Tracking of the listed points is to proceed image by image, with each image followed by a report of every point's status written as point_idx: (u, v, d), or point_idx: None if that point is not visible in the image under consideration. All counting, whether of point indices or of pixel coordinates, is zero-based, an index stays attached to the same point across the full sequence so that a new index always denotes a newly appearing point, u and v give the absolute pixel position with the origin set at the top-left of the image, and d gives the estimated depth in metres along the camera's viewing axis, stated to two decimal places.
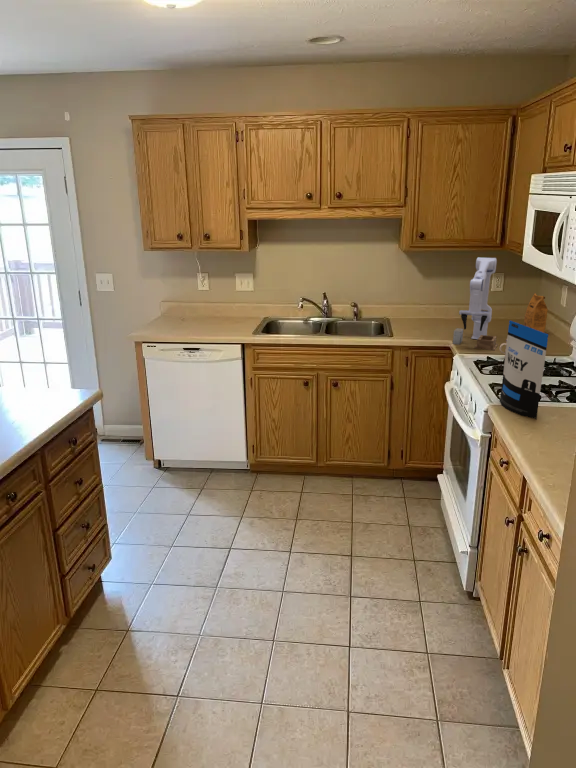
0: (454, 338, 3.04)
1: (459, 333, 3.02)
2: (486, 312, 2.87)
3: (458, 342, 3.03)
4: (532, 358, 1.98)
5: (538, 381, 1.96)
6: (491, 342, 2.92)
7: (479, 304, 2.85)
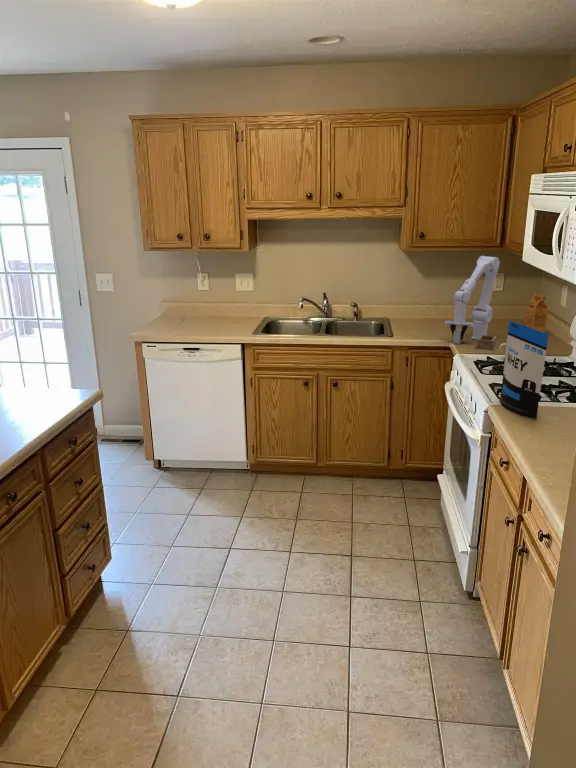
0: (454, 338, 3.04)
1: (459, 333, 3.02)
2: None
3: (458, 342, 3.03)
4: (532, 358, 1.98)
5: (538, 381, 1.96)
6: (491, 342, 2.92)
7: (463, 315, 3.01)
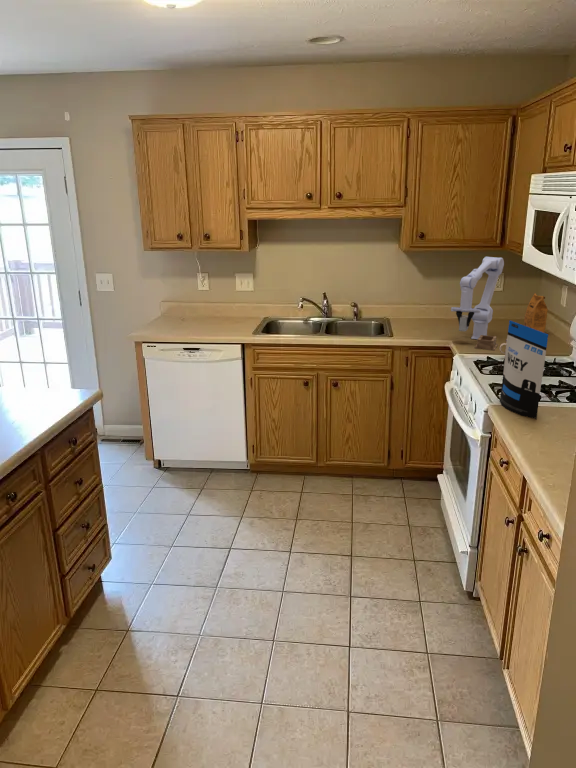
0: (460, 325, 3.00)
1: (465, 320, 2.98)
2: (476, 309, 2.99)
3: (464, 329, 3.00)
4: (532, 358, 1.98)
5: (538, 381, 1.96)
6: (491, 342, 2.92)
7: (470, 301, 2.97)
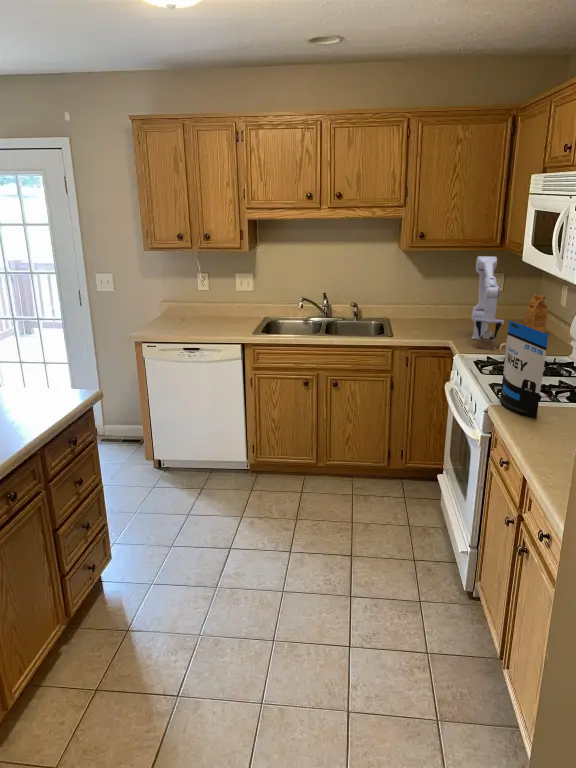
0: None
1: (488, 336, 2.93)
2: None
3: None
4: (532, 358, 1.98)
5: (538, 381, 1.96)
6: (491, 342, 2.92)
7: (494, 312, 2.91)
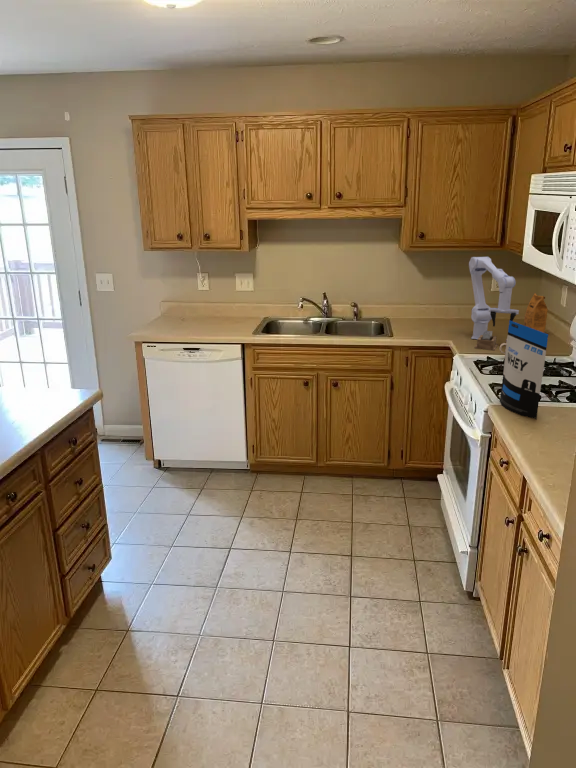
0: None
1: (488, 336, 2.93)
2: None
3: None
4: (532, 358, 1.98)
5: (538, 381, 1.96)
6: (491, 342, 2.92)
7: (508, 302, 2.92)
